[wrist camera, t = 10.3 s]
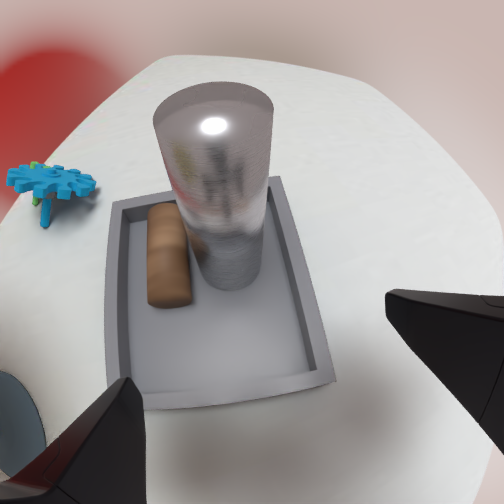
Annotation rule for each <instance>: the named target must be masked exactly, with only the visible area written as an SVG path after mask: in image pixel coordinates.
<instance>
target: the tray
mask: <svg viewBox="0 0 504 504" xmlns="http://www.w3.org/2000/svg"><path fill="white" fill-rule="evenodd" d="M161 203H173V204H176V205H177V202H176V199H175V196H174V193H173V190H172V191H167V192H161V193H156V194H150V195H145V196H140V197H135V198H130V199H125V200H120V201H116V202H113V203H112V210H111V218H110V226H109V235H108V246H107V258H106V273H105V296H104V338H105V361H106V376H107V387H108V388H109V387H110V386H111V385H112V384H113V383H114V382H115V381H116V380H117V379H118V378H122V377H127V376H128V377H130V378H131V379H132V380H133V382H134V383H135V385H136V387H137V388H138V390H139V391H140V393H141V395H142V398H143V407H144V410H157V409H177V408H191V407H202V406H211V405H220V404H228V403H235V402H242V401H248V400H254V399H260V398H266V397H271V396H276V395H281V394H286V393H291V392H296V391H300V390H304V389H309V388H313V387H317V386H321V385H325V384H328V383H332V382H336V377H335V373H334V369H333V364H332V360H331V356H330V352H329V347H328V343H327V339H326V335H325V331H324V327H323V323H322V319H321V315H320V311H319V308H318V304H317V300H316V296H315V292H314V289H313V285H312V281H311V278H310V274H309V271H308V267H307V264H306V260H305V256H304V253H303V250H302V246H301V243H300V239H299V236H298V233H297V229H296V226H295V223H294V219H293V216H292V213H291V210H290V206H289V203H288V200H287V197H286V194H285V191H284V188H283V184H282V181H281V178H280V176H273V177H268V188H267V201H266V213H265V225H264V236H263V248H262V259H261V268H260V272H259V274H258V276H257V278H256V279H255V280H254V281H253V282H252V283H251V284H250V285H249V286H247V287H245V288H243V289H241V290H237V291H222V290H218V289H216V288H214V287H212V286H211V285H209V284H208V283H207V282H206V281H205V280H204V278H203V277H202V275H201V272H200V270H199V267H198V264H197V261H196V258H195V256H194V253H193V250H192V247H191V244H190V241H189V238H188V236H187V248H188V261H189V273H190V284H191V295H192V301H191V303H189V304H188V305H186V306H183V307H179V308H171V309H163V308H156V307H153V306H151V305H149V304H148V303H147V215H148V211H149V210H150V209H151V208H152V207H153V206H155V205H158V204H161Z"/></svg>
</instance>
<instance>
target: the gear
mask: <svg viewBox="0 0 504 504" xmlns="http://www.w3.org/2000/svg"><path fill="white" fill-rule="evenodd" d="M80 173H81V171H79V170H77V169H70V170H64V167H63V166H59V165H54V167H52V168H51V167H50V166H46V165H45V164H39V163H38V162H31V165H30V168H29V165H19V169H17V168H12V169H9V170H8V175H7V182H6V185H7V186H15V188H14V190H15V191H16V192H17V193H24V192H27V191H31V190H33V203H32V204H33V205H38V199H39V198H43V202H42V211H41V222H40V226H41V227H48V226H49V219H50V210H51V202H52V199H53V198H55V193H56V192H57V198H58V199H70V197H71V191H75V192H76V195H77V196H79V197H85V196H89V191H90V192H92V191H94V190H95V186H96V181H93V180H91V179H92V176H91V175H88V174H80Z"/></svg>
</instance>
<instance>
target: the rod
mask: <svg viewBox="0 0 504 504" xmlns="http://www.w3.org/2000/svg"><path fill="white" fill-rule="evenodd" d="M191 301H192V295H191V284H190V273H189V261H188V248H187V233H186V230H185V227H184V224H183V221H182V218H181V215H180V212H179V209H178V205H176V204H173V203H161V204H158V205H155V206H153V207H152V208H151V209H150V210H149V211H148V215H147V303H148V304H149V305H151V306H153V307H156V308H163V309H171V308H179V307H183V306H186V305H188V304H189V303H191Z"/></svg>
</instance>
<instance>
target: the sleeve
mask: <svg viewBox="0 0 504 504" xmlns="http://www.w3.org/2000/svg"><path fill="white" fill-rule="evenodd" d="M273 111H274V108H273V104H272V101H271V100H270V98H269V97H268V96H267V95H266V94H265V93H263V92H262V91H260V90H258V89H256V88H254V87H252V86H249V85H245V84H241V83H235V82H209V83H203V84H198V85H194V86H191V87H188V88H185V89H183V90H180V91H178V92H176V93H174V94H173V95H171V96H169V97H168V98H167V99H165V100H164V101H163V102H162V103H161V104H160V105H159V106H158V108H157V109H156V111H155V113H154V116H153V125H154V129H155V132H156V136H157V140H158V143H159V147H160V150H161V153H162V157H163V160H164V164H165V167H166V170H167V174H168V177H169V180H170V183H171V187H172V190H173V193H174V196H175V199H176V202H177V205H178V209H179V212H180V215H181V218H182V221H183V224H184V227H185V230H186V233H187V236H188V238H189V241H190V244H191V247H192V250H193V253H194V256H195V258H196V261H197V264H198V267H199V270H200V272H201V275H202V277H203V278H204V280H205V281H206V282H207V283H208V284H209V285H211V286H212V287H214V288H216V289H218V290H222V291H237V290H241V289H243V288H245V287H247V286H249V285H250V284H251V283H252V282H253V281H254V280H255V279H256V278H257V276H258V274H259V272H260V268H261V259H262V248H263V236H264V225H265V213H266V201H267V188H268V176H269V164H270V151H271V138H272V125H273Z"/></svg>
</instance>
